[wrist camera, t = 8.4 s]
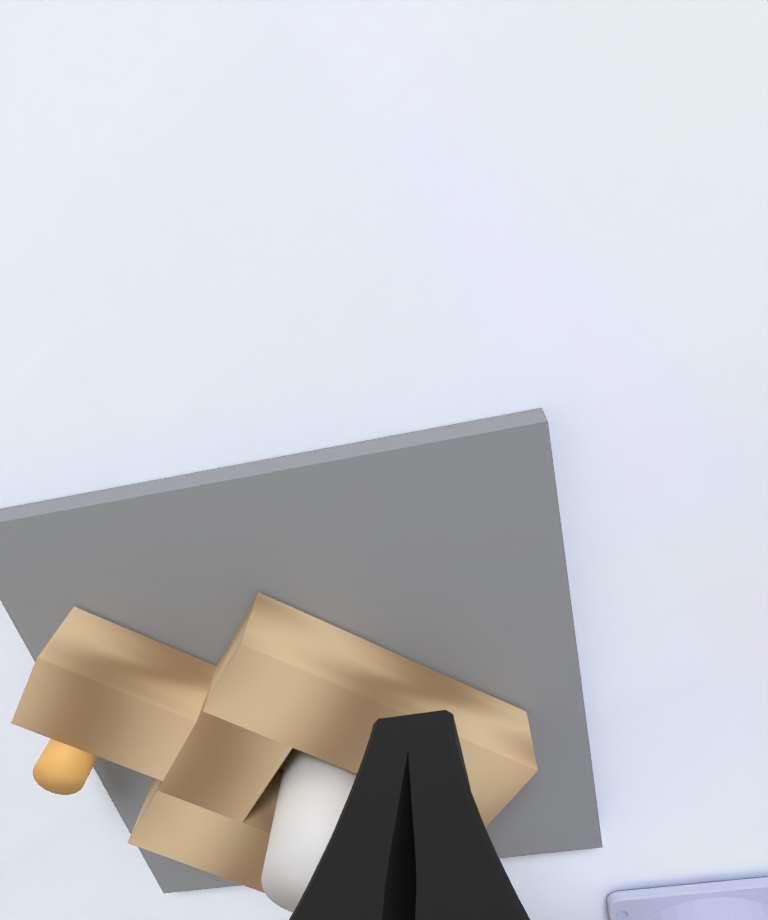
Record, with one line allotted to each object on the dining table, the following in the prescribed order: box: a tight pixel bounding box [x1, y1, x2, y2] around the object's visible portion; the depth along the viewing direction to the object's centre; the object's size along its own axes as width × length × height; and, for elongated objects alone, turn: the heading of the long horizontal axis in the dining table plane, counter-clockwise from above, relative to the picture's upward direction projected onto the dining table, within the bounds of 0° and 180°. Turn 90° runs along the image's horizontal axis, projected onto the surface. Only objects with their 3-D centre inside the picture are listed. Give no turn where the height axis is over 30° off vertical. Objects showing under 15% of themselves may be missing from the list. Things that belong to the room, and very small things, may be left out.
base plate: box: [0, 408, 602, 912], centre depth 22 cm, size 18×18×6 cm
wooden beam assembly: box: [11, 592, 538, 893], centre depth 23 cm, size 15×10×2 cm, turn 62°
